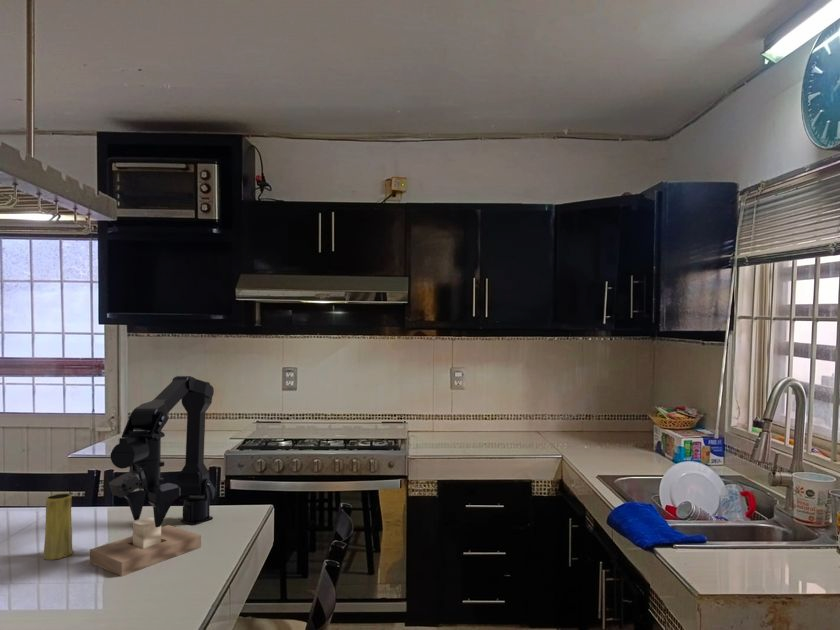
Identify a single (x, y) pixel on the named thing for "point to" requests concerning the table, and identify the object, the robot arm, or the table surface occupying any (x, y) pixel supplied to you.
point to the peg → (146, 533)
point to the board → (144, 551)
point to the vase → (58, 527)
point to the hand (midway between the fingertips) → (147, 523)
